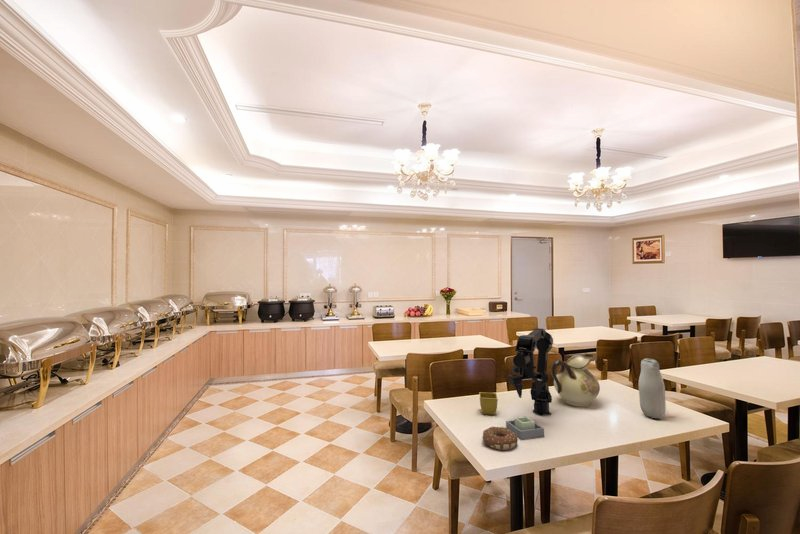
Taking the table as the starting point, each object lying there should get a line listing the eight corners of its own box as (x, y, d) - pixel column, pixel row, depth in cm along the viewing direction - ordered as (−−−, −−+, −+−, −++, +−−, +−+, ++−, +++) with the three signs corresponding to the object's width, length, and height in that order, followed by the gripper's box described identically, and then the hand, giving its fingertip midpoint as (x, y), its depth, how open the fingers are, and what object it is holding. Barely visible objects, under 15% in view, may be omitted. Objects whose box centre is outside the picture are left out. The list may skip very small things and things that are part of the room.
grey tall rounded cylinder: (670, 418, 164) (666, 359, 165) (659, 422, 159) (656, 362, 160) (647, 411, 172) (644, 355, 174) (636, 415, 167) (633, 358, 169)
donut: (507, 435, 148) (507, 423, 148) (523, 450, 134) (523, 437, 135) (476, 438, 146) (475, 426, 146) (489, 453, 132) (489, 440, 132)
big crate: (528, 426, 156) (528, 418, 157) (544, 436, 145) (544, 428, 146) (506, 428, 154) (505, 421, 154) (520, 440, 143) (520, 431, 143)
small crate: (526, 427, 153) (526, 416, 154) (535, 433, 148) (534, 421, 148) (514, 429, 152) (514, 417, 152) (522, 435, 146) (522, 423, 146)
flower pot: (498, 417, 168) (497, 398, 168) (480, 415, 169) (479, 397, 170) (496, 410, 176) (496, 392, 177) (479, 409, 178) (479, 392, 179)
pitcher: (601, 400, 190) (599, 354, 191) (599, 414, 170) (597, 363, 171) (557, 394, 202) (555, 351, 203) (551, 406, 182) (549, 359, 183)
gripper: (534, 357, 170) (535, 389, 170) (500, 360, 166) (501, 393, 165) (548, 362, 159) (550, 396, 159) (513, 366, 155) (514, 401, 154)
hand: (528, 396), depth 160 cm, fingers open, 9 cm apart
